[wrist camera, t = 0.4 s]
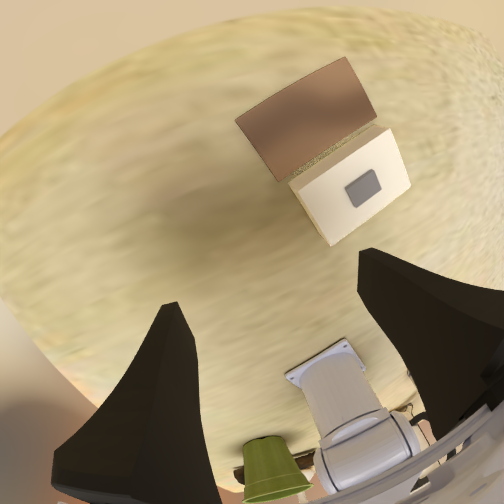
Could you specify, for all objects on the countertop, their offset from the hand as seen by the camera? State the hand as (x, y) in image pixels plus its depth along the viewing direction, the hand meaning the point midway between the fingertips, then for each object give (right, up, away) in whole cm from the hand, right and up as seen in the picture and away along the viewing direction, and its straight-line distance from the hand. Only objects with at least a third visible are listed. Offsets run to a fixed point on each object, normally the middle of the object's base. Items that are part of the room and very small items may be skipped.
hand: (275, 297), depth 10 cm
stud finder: (+6, +7, +9) cm, 13 cm away
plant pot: (+1, -32, +29) cm, 43 cm away
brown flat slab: (+3, +11, +6) cm, 12 cm away
